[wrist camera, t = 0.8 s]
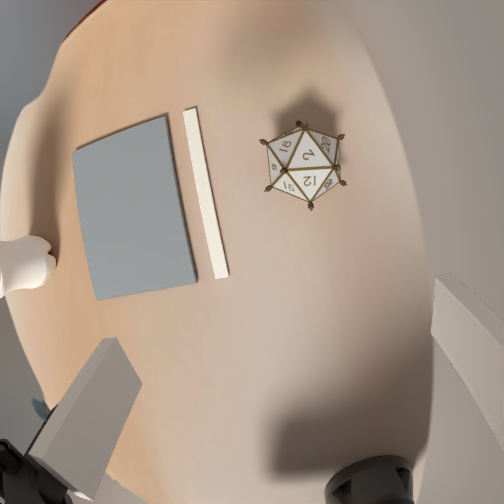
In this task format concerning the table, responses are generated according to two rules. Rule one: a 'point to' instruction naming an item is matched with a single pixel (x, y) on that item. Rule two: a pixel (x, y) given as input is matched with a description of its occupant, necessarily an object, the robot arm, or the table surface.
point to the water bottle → (25, 263)
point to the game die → (304, 162)
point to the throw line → (205, 194)
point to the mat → (132, 213)
